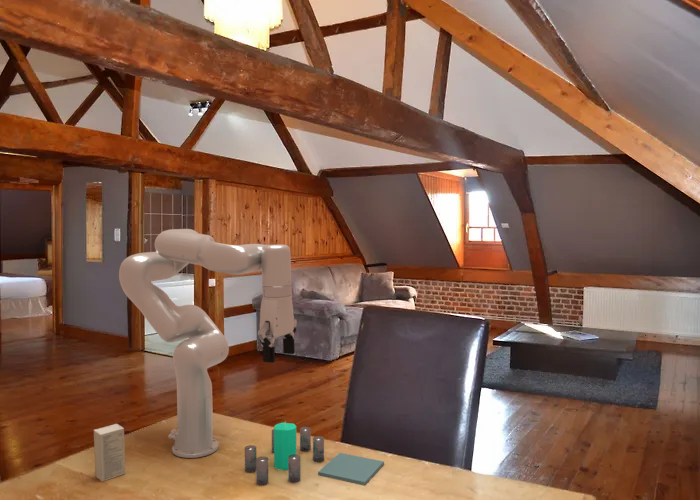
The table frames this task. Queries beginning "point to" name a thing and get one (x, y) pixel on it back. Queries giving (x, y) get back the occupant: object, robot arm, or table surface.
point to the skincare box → (109, 452)
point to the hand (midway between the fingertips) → (279, 357)
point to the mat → (351, 468)
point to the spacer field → (293, 460)
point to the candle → (284, 444)
